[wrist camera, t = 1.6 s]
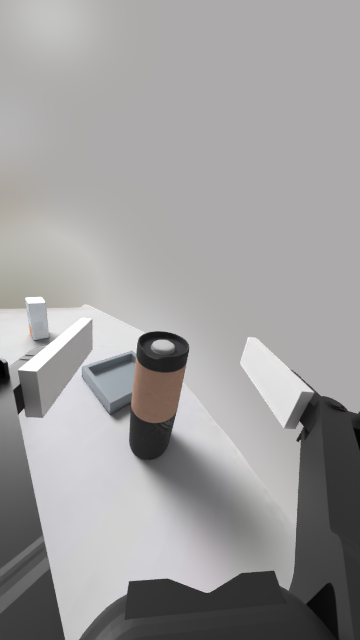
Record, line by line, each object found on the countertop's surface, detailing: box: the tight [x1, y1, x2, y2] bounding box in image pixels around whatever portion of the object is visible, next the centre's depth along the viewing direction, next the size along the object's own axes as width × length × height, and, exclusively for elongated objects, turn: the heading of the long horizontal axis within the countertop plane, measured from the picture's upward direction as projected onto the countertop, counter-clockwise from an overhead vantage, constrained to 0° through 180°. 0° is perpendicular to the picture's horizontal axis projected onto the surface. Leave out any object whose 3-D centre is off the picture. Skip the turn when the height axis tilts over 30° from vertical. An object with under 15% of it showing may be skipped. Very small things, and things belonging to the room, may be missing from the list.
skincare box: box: [25, 297, 49, 340], centre depth 56 cm, size 6×4×12 cm
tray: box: [82, 351, 136, 414], centre depth 45 cm, size 14×14×3 cm
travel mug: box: [129, 331, 189, 459], centre depth 29 cm, size 8×8×20 cm
